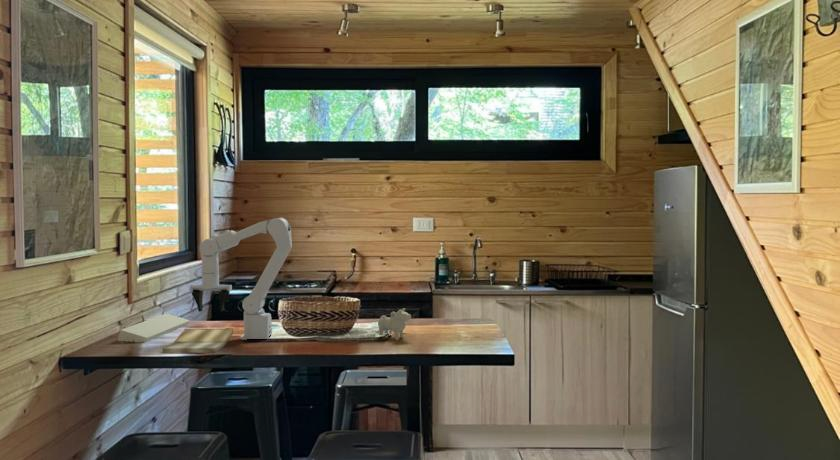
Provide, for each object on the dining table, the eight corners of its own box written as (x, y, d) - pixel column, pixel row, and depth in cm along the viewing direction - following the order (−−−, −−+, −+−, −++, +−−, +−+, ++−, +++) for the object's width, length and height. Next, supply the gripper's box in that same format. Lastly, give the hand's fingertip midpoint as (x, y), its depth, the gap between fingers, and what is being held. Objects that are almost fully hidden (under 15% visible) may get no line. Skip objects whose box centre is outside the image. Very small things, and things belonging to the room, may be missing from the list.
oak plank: (233, 332, 239) (232, 328, 238) (224, 345, 229) (224, 341, 229) (185, 333, 239) (184, 328, 239) (174, 345, 230) (174, 341, 229)
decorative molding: (187, 332, 270) (164, 325, 271) (190, 320, 270) (166, 313, 270) (143, 351, 236) (117, 342, 237) (147, 337, 236) (120, 329, 237)
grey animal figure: (406, 340, 235) (406, 310, 235) (375, 337, 242) (375, 307, 241) (414, 338, 240) (414, 308, 239) (384, 334, 246) (383, 305, 246)
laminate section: (224, 346, 229) (224, 341, 229) (214, 352, 219) (214, 348, 219) (174, 346, 229) (174, 341, 229) (162, 352, 219) (162, 348, 219)
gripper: (234, 271, 244) (234, 309, 245) (194, 271, 245) (195, 309, 245) (228, 273, 237) (228, 312, 238) (186, 273, 238) (187, 312, 238)
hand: (211, 311), depth 241 cm, fingers open, 7 cm apart
